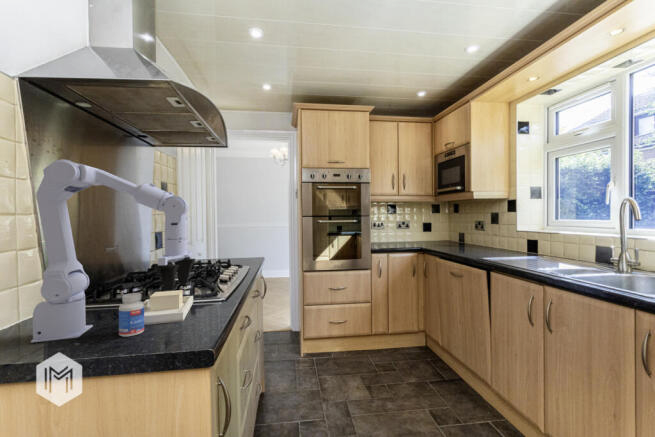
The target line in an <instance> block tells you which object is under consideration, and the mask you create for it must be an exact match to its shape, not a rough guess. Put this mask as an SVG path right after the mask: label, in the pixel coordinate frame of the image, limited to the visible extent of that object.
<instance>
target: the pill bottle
mask: <svg viewBox="0 0 655 437" xmlns="http://www.w3.org/2000/svg"><path fill="white" fill-rule="evenodd" d="M121 300H122V302H123V303H121V304H120V305H119V307H118V335H119V336H121V337H125V338H126V337H132V336H136V335H139V334H142V333H143V332H144V331H145V325H144V303H143V302H144V301H141V300H142V293H140V292H132V293H126V294H124V295H122V298H121Z"/></svg>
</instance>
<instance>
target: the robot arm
mask: <svg viewBox="0 0 655 437" xmlns="http://www.w3.org/2000/svg"><path fill="white" fill-rule="evenodd" d="M42 170H43V171H42V172H43V178H42V180H41V182H40V184H39V186H38V188H37V191H36V194H35V195H36V201H37V207H38V213H39V218H40V223H41V229H42V235H43V240H44V246H45V250H46V258H47V263H48V264H47V267H46V268H45V270H44V272H43V273H42V277H43V282H42V284H41V287H40V294H41V296H42V298H43V299H44V300H45V301H41V302H39V303H38V304H36V306H35V307H34V309H33V312H32V340H30V343H38V342H39V343H40V342H41V343H42V342H48V341H58V340H66V339H73V338H74V339H75V338H79V337H81V336H82V335H83V334H85V333H86V332H87V331H88V330H90V329H91V328H93V327H94V325H93V324H87V322H86V320H87V319H86V318H87V317H86V294H85V291H86V290H87V289H88V287H89V285H90V278H89V275H88V274H87V273H86V272H85V270H84V267H83V264H81V262H80V261H78V259H77V255H76V249H75V248H76V247H75V242H74V237H73V232H72V231H73V230H72V225H71V220H70V214H69V209H68V203H67V202H68V200H69V199H71V197H73V196H74V195H76V194H77V193H78V192H81V191H83V190H85V189H87V188H90V187H91V186H95V187H97V186H106V187H108V188H111V189H114V190H117V191H118V192H122V193H125V194H128V195H129V196H132V197H133V198H134V201H135V203H137V204H140V205H143V206H145V207H148V208H150V209H152V210H155V211H158V212H163V213H164V214H165V215H164V217H165V218H164V254H163V255H162V256H159V257H158V258H157V264H155V265H154V268H155V271H157V273H158V275H159V277H160V279H161V282H162V285H163V289H164V291H175V284H176V278H178V279H177V280H178V283H179V285H187V284H188V281H189V278H190V274H191V271H192V268H193V266H194V264H195V262H196V258H193V252H192V250H190V251H188V222H187V220H188V215H187V213H188V211H189V203H188V201H187V200H185V199H184V198H183V197H181V196H179V195H178V196H176V195H174V194H175V193H174V192H172V191H166V190H163V189H160V188H159V187H157V185H156V184H154V183H150V184H149V183H142V184H136V183H134V182H131V181H129V180H126V179H124V178H122V177H119V176H117V175H114V174H112V173H110V172H107V171H106V170H103V169H100V168H96V167H94V166H93V167H92V166H89V165H86V164H82V163H79V162H78V163H76V162H73V161H72V160H69V159H65V158H64V159H63V158H62V159H57V160H54V161H53V162H51V163H50V164H48V165H47V166H46V167H44V168H43V169H42ZM173 263H174V264H173ZM176 276H177V277H176ZM86 324H87V325H86Z"/></svg>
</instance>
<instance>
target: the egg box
mask: <svg viewBox="0 0 655 437" xmlns="http://www.w3.org/2000/svg"><path fill="white" fill-rule="evenodd" d="M183 292H184V290H183V289H180V290H172V291H165V290H164V291H155V292H154V293H152V294H151V295H150V296H149V299H150V311H159V310H170V309H179V308H180V307H181V305H182V304H183V297H184V296H183Z"/></svg>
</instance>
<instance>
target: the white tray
mask: <svg viewBox="0 0 655 437" xmlns="http://www.w3.org/2000/svg"><path fill="white" fill-rule="evenodd" d="M142 302H143V303H144V326H150V325H158V324H159V325H160V324H167V323H179V322H184V320H185V318H186V317H187V315H188V313H189V311H190V310H191V308H192V305H193V304H194V295H187V296H183V304H182V305H181V307H180V308H179V309H170V310H159V311H150V298H149V299H145V301H142Z"/></svg>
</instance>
